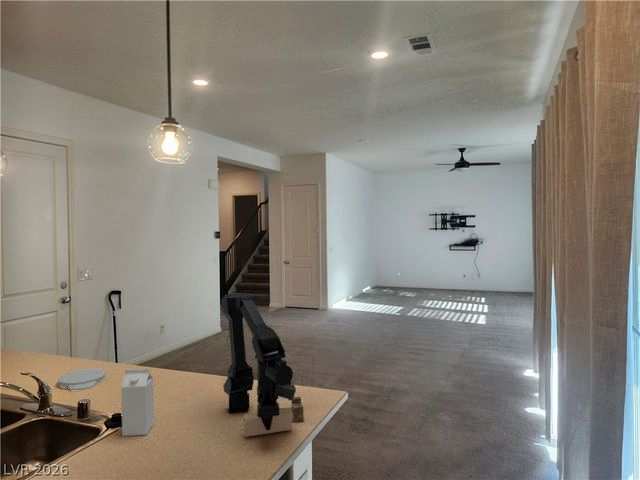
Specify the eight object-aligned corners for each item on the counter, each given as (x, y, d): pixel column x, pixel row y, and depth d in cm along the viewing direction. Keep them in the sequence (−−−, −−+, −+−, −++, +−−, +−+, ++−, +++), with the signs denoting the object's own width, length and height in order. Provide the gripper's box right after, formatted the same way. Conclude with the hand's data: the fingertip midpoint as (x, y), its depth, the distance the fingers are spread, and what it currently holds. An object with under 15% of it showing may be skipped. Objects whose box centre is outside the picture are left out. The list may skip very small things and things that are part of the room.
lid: (56, 396, 156) (55, 388, 156) (59, 379, 174) (59, 372, 174) (107, 387, 165) (107, 379, 165) (105, 372, 182) (105, 365, 182)
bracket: (259, 425, 130) (259, 410, 130) (259, 412, 139) (258, 399, 139) (303, 421, 133) (303, 407, 132) (300, 409, 142) (300, 396, 141)
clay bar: (245, 436, 122) (245, 419, 122) (244, 431, 125) (243, 414, 125) (291, 429, 126) (291, 413, 126) (289, 424, 129) (289, 408, 129)
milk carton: (131, 425, 131) (129, 366, 131) (154, 424, 132) (152, 365, 131) (122, 436, 124) (120, 374, 124) (146, 435, 125) (145, 373, 124)
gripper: (296, 385, 117) (297, 439, 117) (291, 364, 135) (291, 411, 136) (257, 388, 115) (257, 443, 116) (256, 366, 134) (257, 414, 134)
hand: (267, 426), depth 125 cm, fingers closed on clay bar, 4 cm apart
